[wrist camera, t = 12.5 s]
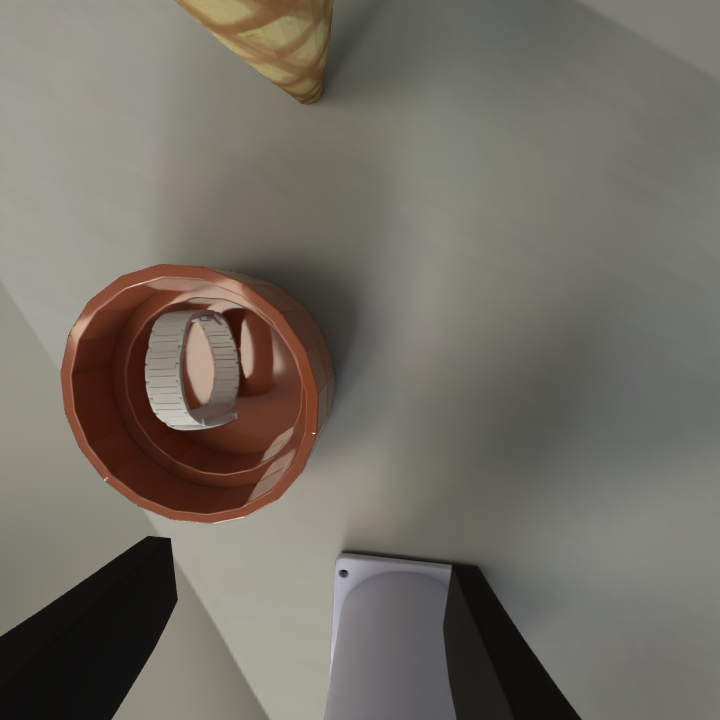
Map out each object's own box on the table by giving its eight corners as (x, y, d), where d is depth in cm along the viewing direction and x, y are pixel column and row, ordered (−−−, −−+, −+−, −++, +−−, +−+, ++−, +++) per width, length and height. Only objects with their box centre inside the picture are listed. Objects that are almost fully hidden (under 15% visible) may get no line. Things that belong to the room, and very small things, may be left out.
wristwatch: (207, 406, 18) (139, 447, 13) (194, 310, 17) (115, 315, 12) (261, 404, 18) (211, 446, 13) (250, 306, 17) (192, 310, 12)
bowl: (331, 479, 19) (313, 536, 14) (146, 461, 19) (74, 509, 15) (340, 279, 17) (323, 272, 12) (134, 268, 17) (47, 258, 13)
